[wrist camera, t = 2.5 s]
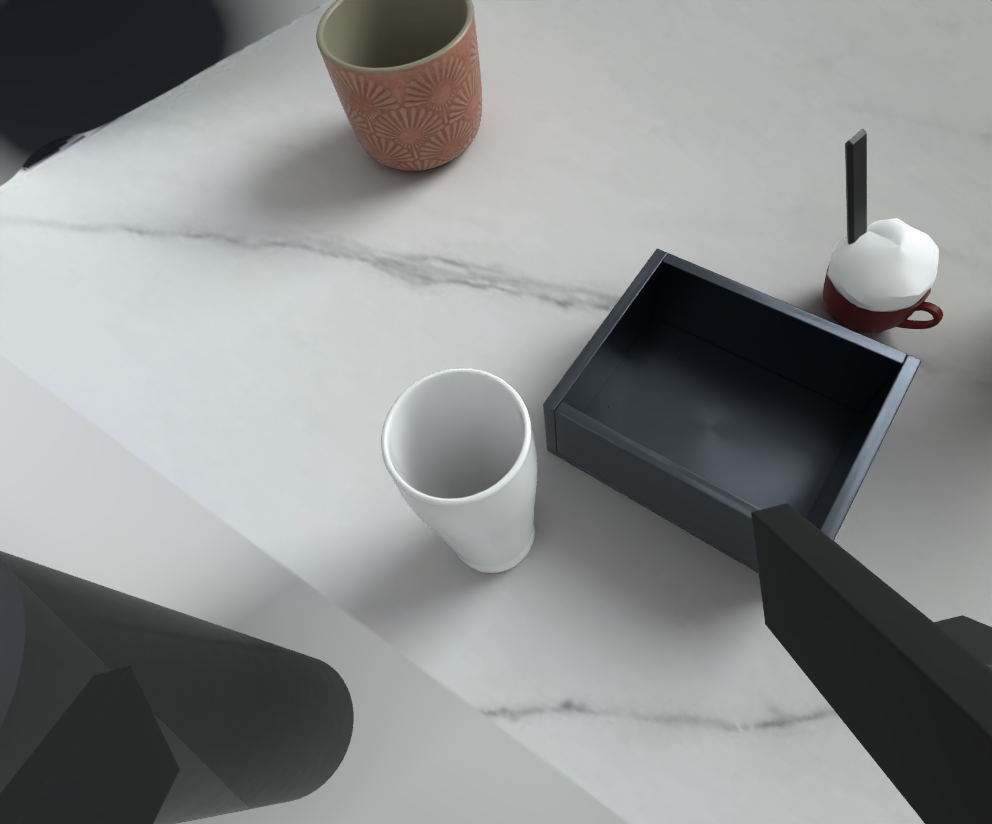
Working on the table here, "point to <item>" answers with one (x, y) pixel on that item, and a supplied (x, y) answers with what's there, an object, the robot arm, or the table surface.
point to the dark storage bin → (725, 405)
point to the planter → (405, 76)
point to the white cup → (466, 464)
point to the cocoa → (878, 262)
